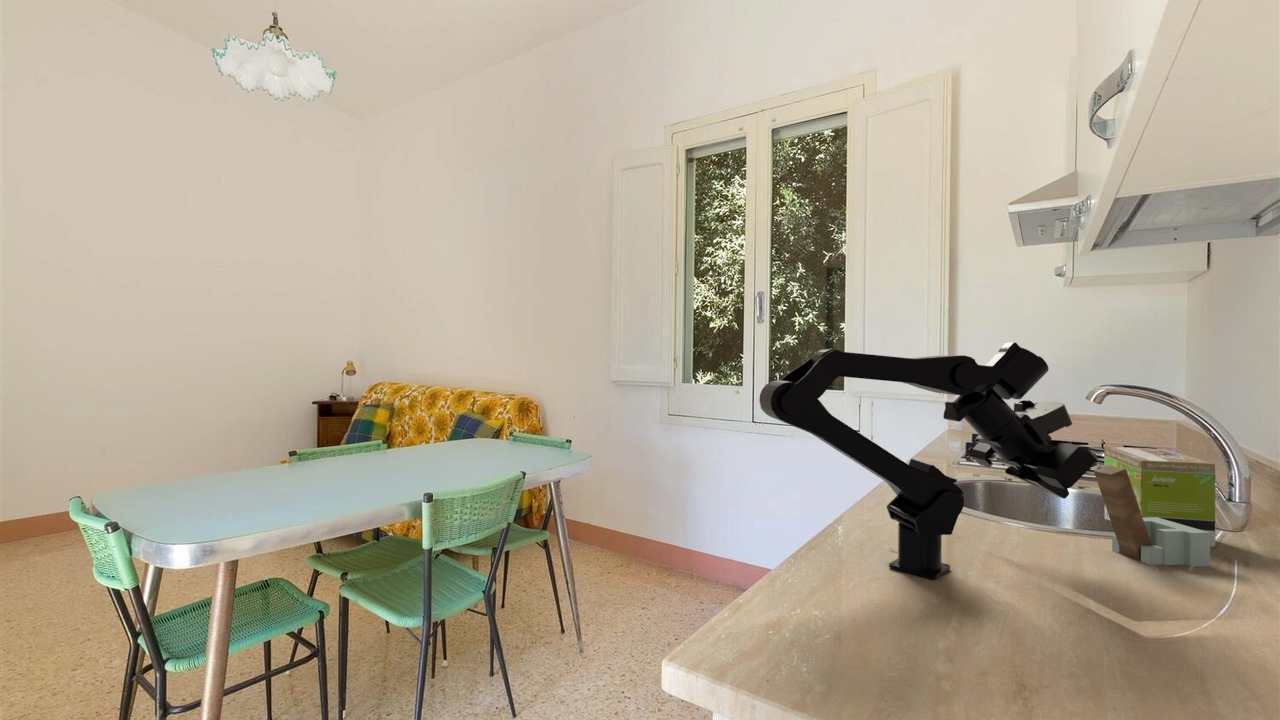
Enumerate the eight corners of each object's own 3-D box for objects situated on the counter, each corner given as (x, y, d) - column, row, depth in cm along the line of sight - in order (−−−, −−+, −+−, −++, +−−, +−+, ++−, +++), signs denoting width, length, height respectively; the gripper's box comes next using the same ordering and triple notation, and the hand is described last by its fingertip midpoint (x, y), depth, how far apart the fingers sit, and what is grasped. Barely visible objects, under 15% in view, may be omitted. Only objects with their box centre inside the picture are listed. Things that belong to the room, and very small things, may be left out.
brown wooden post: (1140, 563, 85) (1110, 474, 85) (1122, 556, 88) (1093, 470, 88) (1156, 557, 85) (1125, 468, 85) (1137, 550, 88) (1108, 465, 88)
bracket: (1145, 575, 82) (1145, 533, 82) (1097, 556, 90) (1097, 518, 90) (1214, 574, 83) (1214, 532, 83) (1160, 555, 91) (1160, 517, 91)
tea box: (1101, 523, 109) (1102, 445, 109) (1168, 528, 106) (1168, 448, 106) (1140, 547, 95) (1141, 457, 95) (1218, 555, 92) (1219, 461, 92)
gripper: (1084, 386, 76) (1162, 470, 77) (990, 380, 95) (1053, 448, 96) (1026, 445, 76) (1105, 529, 77) (943, 428, 94) (1007, 495, 95)
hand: (1065, 495), depth 86 cm, fingers closed
